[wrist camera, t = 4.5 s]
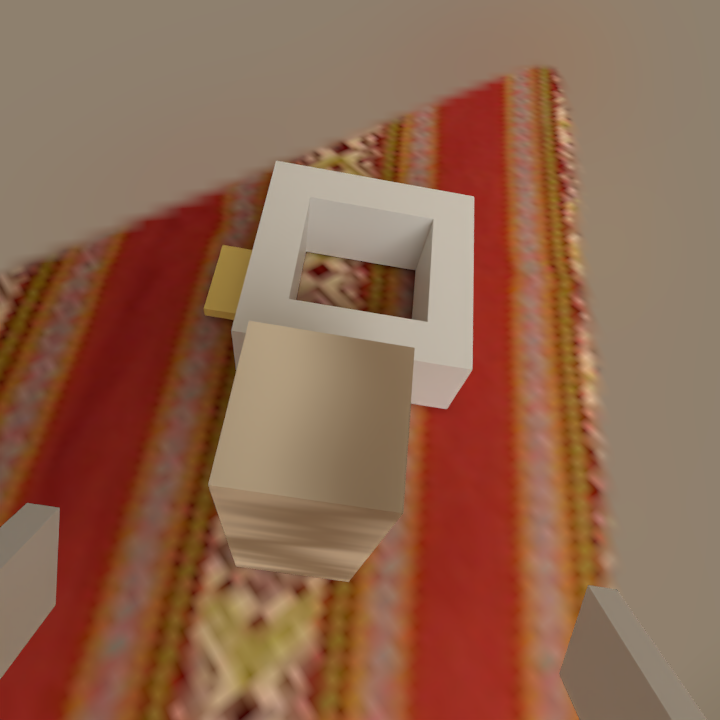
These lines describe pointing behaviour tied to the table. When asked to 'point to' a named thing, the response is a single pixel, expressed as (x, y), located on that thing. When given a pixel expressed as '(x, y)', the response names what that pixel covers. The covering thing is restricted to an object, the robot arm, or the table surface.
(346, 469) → the beech peg
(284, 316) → the socket block
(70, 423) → the table surface
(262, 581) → the table surface
